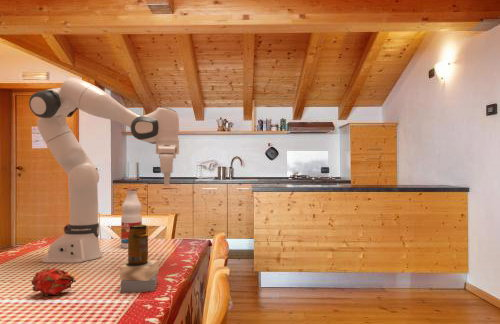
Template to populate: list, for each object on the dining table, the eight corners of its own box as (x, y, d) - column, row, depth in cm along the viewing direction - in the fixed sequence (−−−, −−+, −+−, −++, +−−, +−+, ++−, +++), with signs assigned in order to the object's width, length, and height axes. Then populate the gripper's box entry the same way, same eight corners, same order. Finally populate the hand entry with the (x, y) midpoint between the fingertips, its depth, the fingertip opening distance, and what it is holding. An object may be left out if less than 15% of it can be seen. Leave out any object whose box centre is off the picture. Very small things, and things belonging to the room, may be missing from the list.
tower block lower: (120, 294, 113) (120, 281, 113) (126, 284, 123) (126, 272, 123) (154, 292, 114) (154, 279, 114) (157, 283, 124) (157, 271, 124)
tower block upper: (119, 279, 115) (119, 266, 115) (132, 271, 124) (132, 259, 124) (147, 280, 114) (147, 267, 114) (158, 272, 122) (158, 260, 123)
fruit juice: (145, 245, 182) (146, 188, 182) (133, 249, 173) (133, 189, 173) (129, 244, 185) (130, 187, 186) (116, 248, 176) (117, 188, 177)
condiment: (146, 259, 123) (146, 223, 124) (153, 265, 116) (153, 226, 116) (123, 262, 120) (123, 225, 120) (129, 268, 112) (129, 228, 113)
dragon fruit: (28, 300, 110) (71, 303, 113) (23, 291, 104) (70, 293, 107) (37, 272, 116) (78, 275, 119) (33, 261, 109) (77, 265, 112)
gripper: (160, 150, 154) (160, 184, 154) (157, 148, 134) (157, 186, 134) (176, 150, 155) (175, 184, 155) (175, 148, 135) (175, 186, 135)
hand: (167, 185), depth 144 cm, fingers open, 8 cm apart
